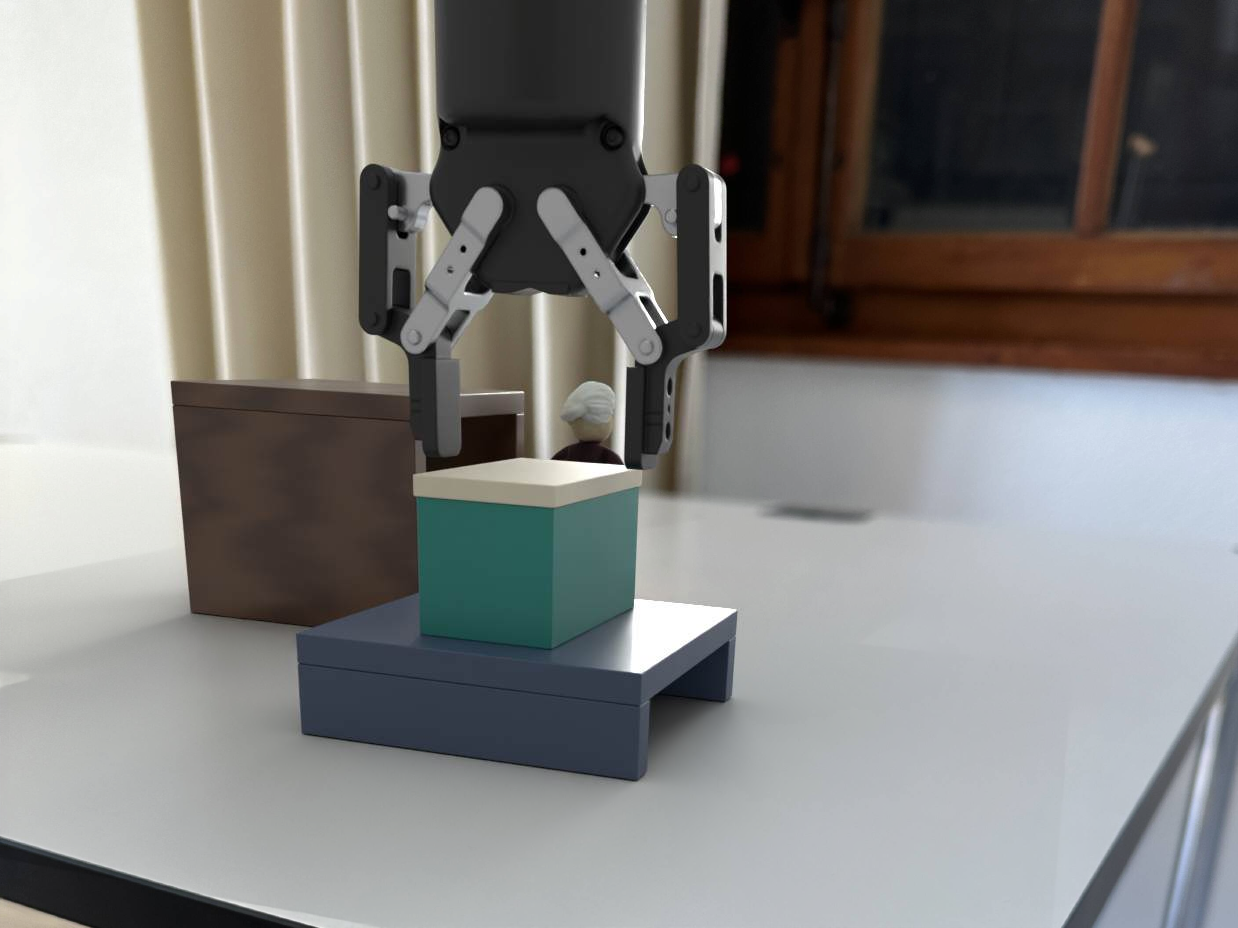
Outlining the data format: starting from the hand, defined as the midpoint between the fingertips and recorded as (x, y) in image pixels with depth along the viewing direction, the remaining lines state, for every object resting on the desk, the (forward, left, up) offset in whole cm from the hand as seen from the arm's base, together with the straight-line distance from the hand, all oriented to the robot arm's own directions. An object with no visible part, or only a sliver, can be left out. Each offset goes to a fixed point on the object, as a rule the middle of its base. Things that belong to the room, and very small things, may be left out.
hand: (538, 462), depth 52 cm
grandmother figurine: (-8, +28, -11) cm, 31 cm away
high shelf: (-18, +18, -10) cm, 27 cm away
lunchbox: (0, 0, -6) cm, 6 cm away
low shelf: (0, 0, -10) cm, 10 cm away
